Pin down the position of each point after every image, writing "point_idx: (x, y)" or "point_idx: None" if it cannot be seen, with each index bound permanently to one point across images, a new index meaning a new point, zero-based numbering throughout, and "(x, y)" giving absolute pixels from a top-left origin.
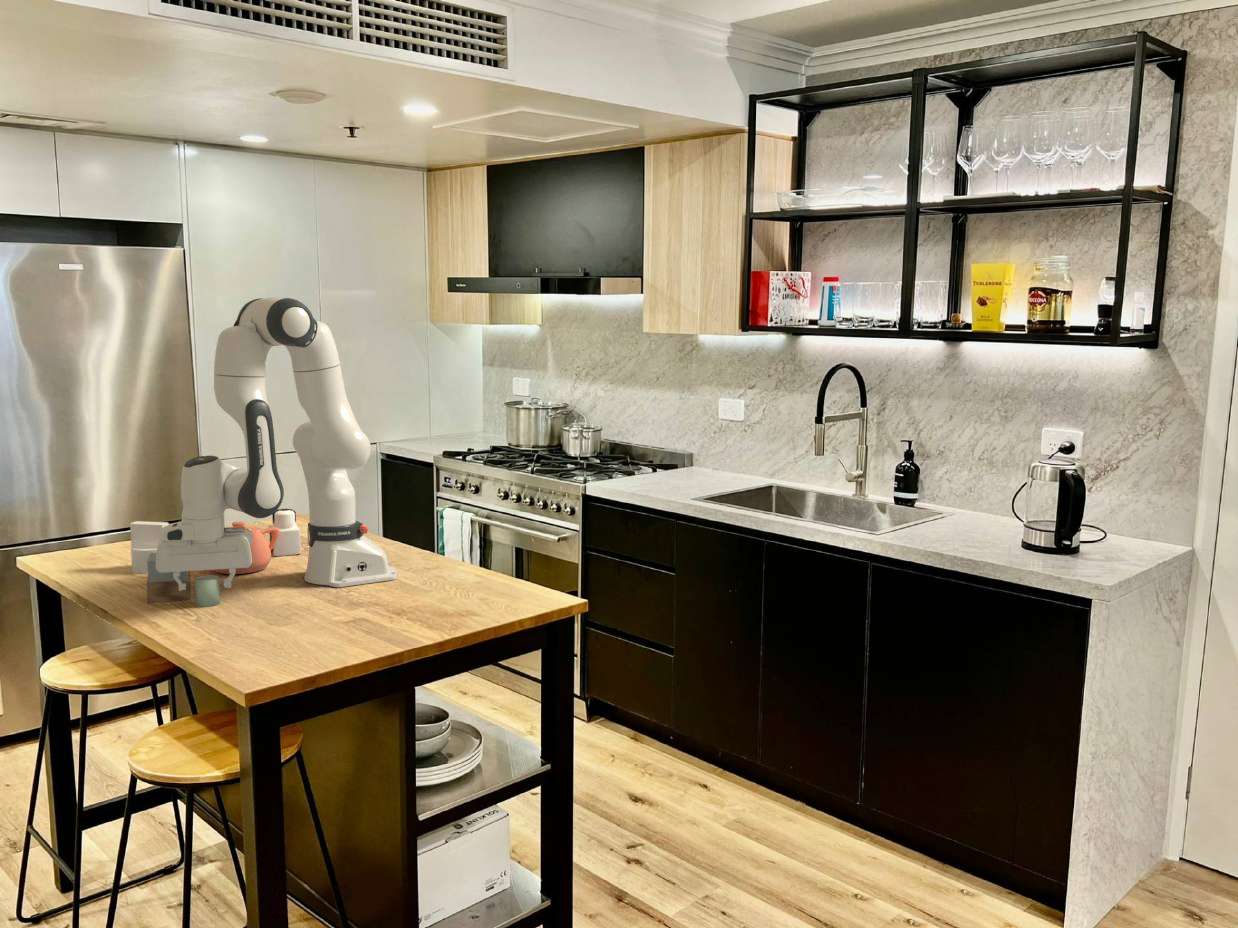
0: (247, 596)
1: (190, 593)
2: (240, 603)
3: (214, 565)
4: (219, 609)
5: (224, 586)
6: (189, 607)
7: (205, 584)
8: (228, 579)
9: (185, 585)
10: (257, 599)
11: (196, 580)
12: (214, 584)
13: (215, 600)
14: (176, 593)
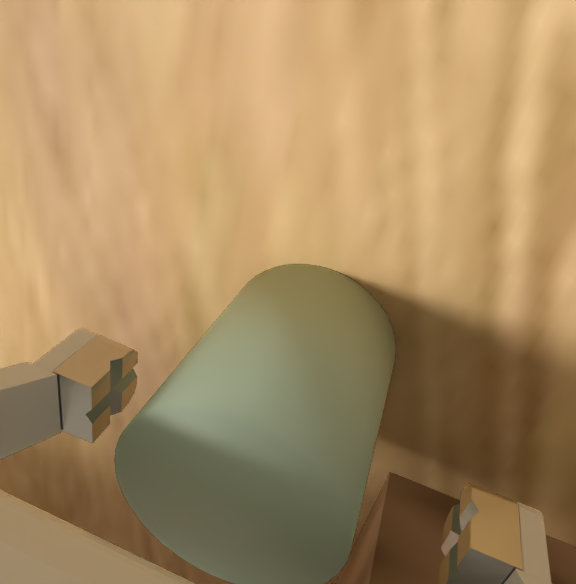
0: (64, 329)
1: (378, 519)
2: (108, 208)
3: (24, 578)
4: (270, 139)
5: (126, 352)
6: (463, 341)
7: (281, 397)
8: (44, 376)
9: (474, 525)
10: (7, 231)
11: (350, 514)
12: (193, 371)
13: (257, 287)
14: None
